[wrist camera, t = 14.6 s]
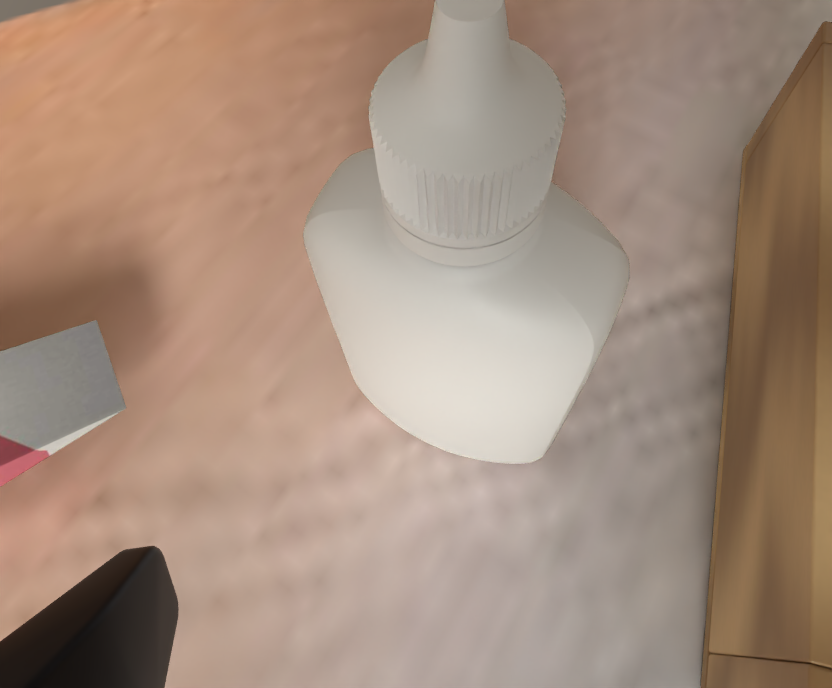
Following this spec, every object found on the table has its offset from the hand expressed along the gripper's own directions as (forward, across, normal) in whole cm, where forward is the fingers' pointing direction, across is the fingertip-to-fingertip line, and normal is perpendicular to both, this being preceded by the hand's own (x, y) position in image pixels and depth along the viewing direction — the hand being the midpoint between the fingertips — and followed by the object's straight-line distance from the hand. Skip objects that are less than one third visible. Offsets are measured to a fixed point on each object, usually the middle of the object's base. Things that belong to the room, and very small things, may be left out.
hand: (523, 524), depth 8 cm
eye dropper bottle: (+9, 0, +3) cm, 10 cm away
